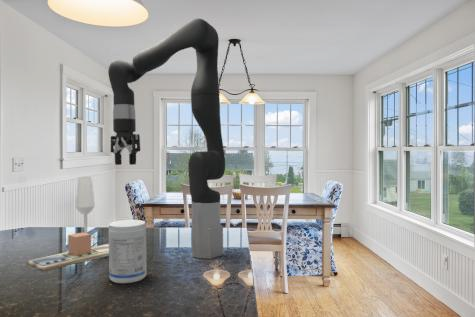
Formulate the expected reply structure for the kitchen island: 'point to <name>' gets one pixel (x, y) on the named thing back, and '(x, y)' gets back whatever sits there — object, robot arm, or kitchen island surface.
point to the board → (68, 258)
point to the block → (79, 244)
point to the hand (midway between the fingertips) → (125, 164)
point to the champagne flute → (85, 198)
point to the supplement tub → (127, 251)
